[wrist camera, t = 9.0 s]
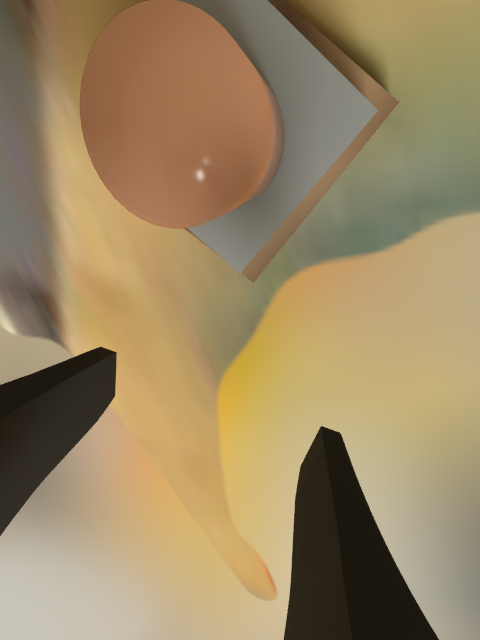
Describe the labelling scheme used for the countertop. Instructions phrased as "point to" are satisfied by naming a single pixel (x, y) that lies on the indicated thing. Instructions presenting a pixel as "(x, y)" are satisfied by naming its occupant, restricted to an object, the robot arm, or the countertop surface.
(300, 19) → the walnut slab
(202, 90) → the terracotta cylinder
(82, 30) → the countertop surface
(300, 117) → the gray slab
